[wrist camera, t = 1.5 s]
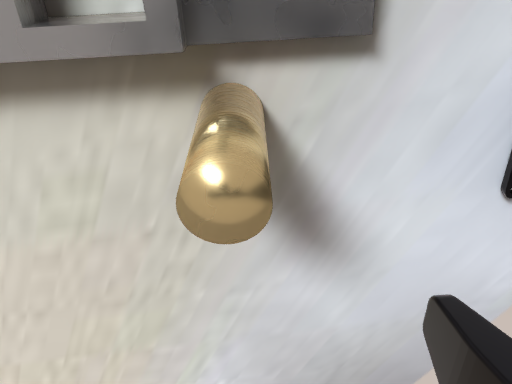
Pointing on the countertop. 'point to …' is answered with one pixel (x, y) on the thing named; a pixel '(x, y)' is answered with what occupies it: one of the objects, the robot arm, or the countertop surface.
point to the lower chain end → (257, 19)
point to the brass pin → (227, 169)
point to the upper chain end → (90, 33)
